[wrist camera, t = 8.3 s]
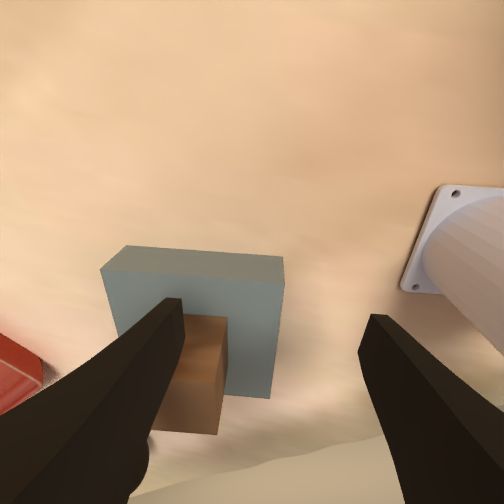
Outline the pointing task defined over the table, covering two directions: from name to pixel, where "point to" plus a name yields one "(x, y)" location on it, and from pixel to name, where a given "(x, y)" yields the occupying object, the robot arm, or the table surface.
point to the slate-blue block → (207, 301)
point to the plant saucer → (17, 374)
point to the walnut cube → (197, 379)
